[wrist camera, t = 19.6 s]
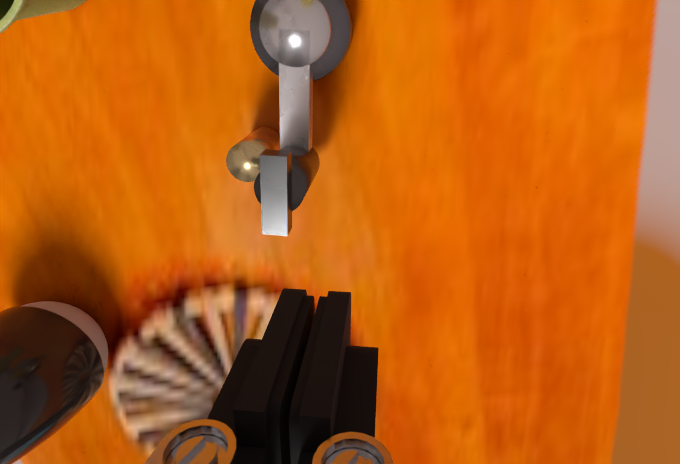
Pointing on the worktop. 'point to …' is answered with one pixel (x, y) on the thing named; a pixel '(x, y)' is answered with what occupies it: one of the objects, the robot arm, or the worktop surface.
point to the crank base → (247, 152)
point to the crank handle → (291, 107)
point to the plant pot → (31, 9)
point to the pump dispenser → (45, 372)
